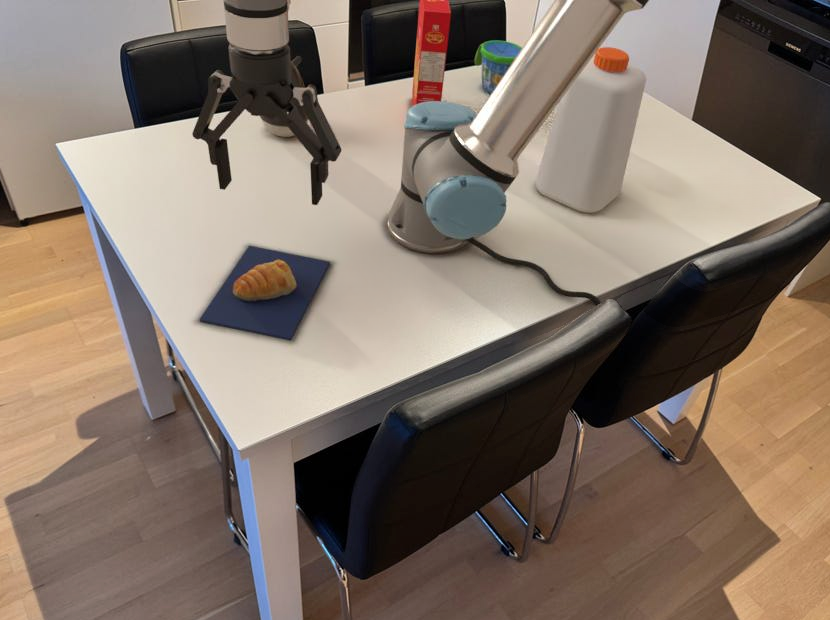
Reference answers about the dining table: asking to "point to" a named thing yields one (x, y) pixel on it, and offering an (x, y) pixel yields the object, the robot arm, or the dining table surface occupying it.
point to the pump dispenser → (275, 124)
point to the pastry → (265, 282)
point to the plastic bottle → (593, 133)
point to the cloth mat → (273, 313)
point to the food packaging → (431, 50)
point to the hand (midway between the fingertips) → (271, 192)
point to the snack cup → (495, 61)
